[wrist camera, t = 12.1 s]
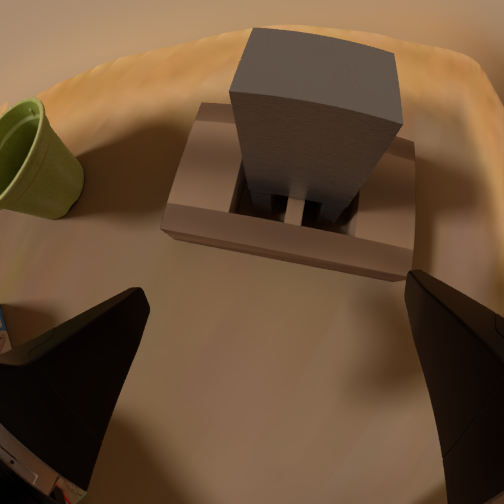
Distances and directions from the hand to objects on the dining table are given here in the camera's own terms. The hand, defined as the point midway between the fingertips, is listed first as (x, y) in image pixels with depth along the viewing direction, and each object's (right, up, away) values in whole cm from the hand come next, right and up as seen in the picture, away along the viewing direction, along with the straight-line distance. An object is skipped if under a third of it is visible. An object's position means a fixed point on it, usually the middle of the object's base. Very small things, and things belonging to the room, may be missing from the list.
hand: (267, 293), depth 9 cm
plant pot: (-18, +7, +14) cm, 24 cm away
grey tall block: (+3, +6, +12) cm, 13 cm away
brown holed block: (+3, +6, +12) cm, 13 cm away
